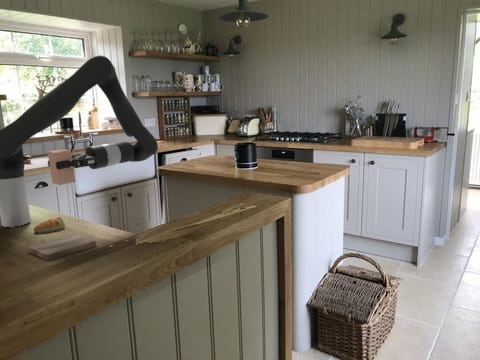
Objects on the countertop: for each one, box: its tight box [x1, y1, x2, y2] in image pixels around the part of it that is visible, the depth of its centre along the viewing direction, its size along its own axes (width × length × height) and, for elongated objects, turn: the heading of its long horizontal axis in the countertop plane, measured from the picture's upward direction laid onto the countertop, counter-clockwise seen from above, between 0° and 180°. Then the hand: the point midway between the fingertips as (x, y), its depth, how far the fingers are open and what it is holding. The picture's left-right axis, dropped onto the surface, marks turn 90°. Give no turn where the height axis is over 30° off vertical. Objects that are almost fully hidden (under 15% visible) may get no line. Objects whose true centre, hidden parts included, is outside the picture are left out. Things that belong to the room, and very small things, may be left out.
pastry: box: [33, 216, 66, 234], centre depth 137 cm, size 9×7×4 cm
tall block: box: [47, 148, 76, 186], centre depth 125 cm, size 5×5×10 cm
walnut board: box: [27, 233, 97, 261], centre depth 116 cm, size 12×14×2 cm
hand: (52, 164), depth 123 cm, fingers closed on tall block, 5 cm apart
